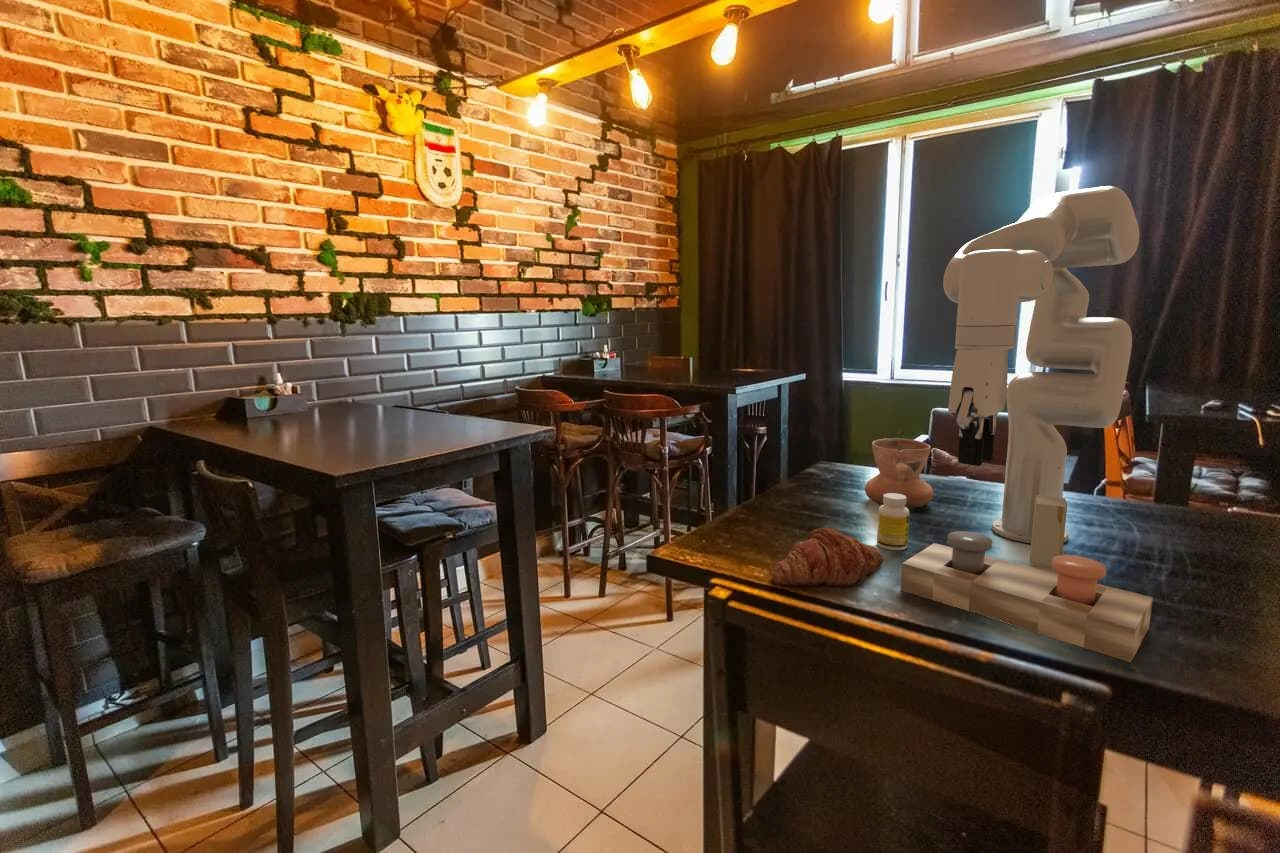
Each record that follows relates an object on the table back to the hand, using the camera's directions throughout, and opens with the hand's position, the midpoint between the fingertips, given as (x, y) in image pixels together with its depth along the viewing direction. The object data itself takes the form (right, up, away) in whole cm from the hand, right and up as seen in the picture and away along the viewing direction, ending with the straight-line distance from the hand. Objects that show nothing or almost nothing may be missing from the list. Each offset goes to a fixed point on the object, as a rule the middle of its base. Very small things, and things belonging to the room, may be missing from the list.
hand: (975, 460), depth 92 cm
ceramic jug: (+9, -13, +49) cm, 51 cm away
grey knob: (0, -17, +3) cm, 18 cm away
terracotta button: (+10, -19, -7) cm, 23 cm away
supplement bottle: (-3, -18, +24) cm, 29 cm away
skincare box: (+18, -19, +11) cm, 29 cm away
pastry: (-18, -20, +12) cm, 30 cm away
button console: (+5, -22, -1) cm, 22 cm away
